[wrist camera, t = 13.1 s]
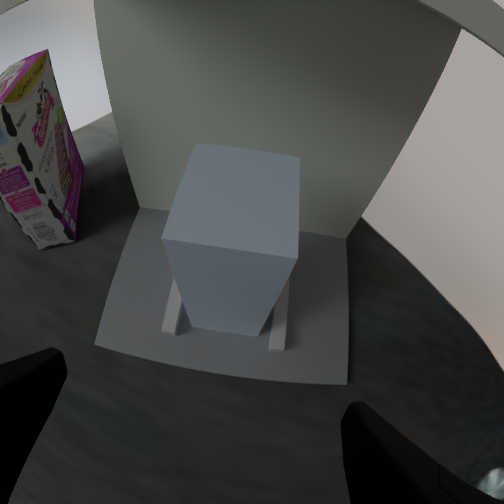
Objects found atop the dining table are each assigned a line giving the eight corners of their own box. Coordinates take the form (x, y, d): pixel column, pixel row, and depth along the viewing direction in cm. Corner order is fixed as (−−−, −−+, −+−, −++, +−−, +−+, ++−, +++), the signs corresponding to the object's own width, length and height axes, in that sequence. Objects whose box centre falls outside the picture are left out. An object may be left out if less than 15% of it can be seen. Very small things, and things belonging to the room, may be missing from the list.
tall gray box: (257, 336, 21) (297, 258, 10) (192, 326, 21) (161, 238, 10) (264, 272, 24) (299, 157, 13) (204, 263, 24) (196, 142, 13)
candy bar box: (79, 242, 24) (1, 101, 10) (40, 252, 23) (-47, 131, 9) (87, 165, 29) (49, 45, 15) (53, 175, 28) (7, 65, 14)
